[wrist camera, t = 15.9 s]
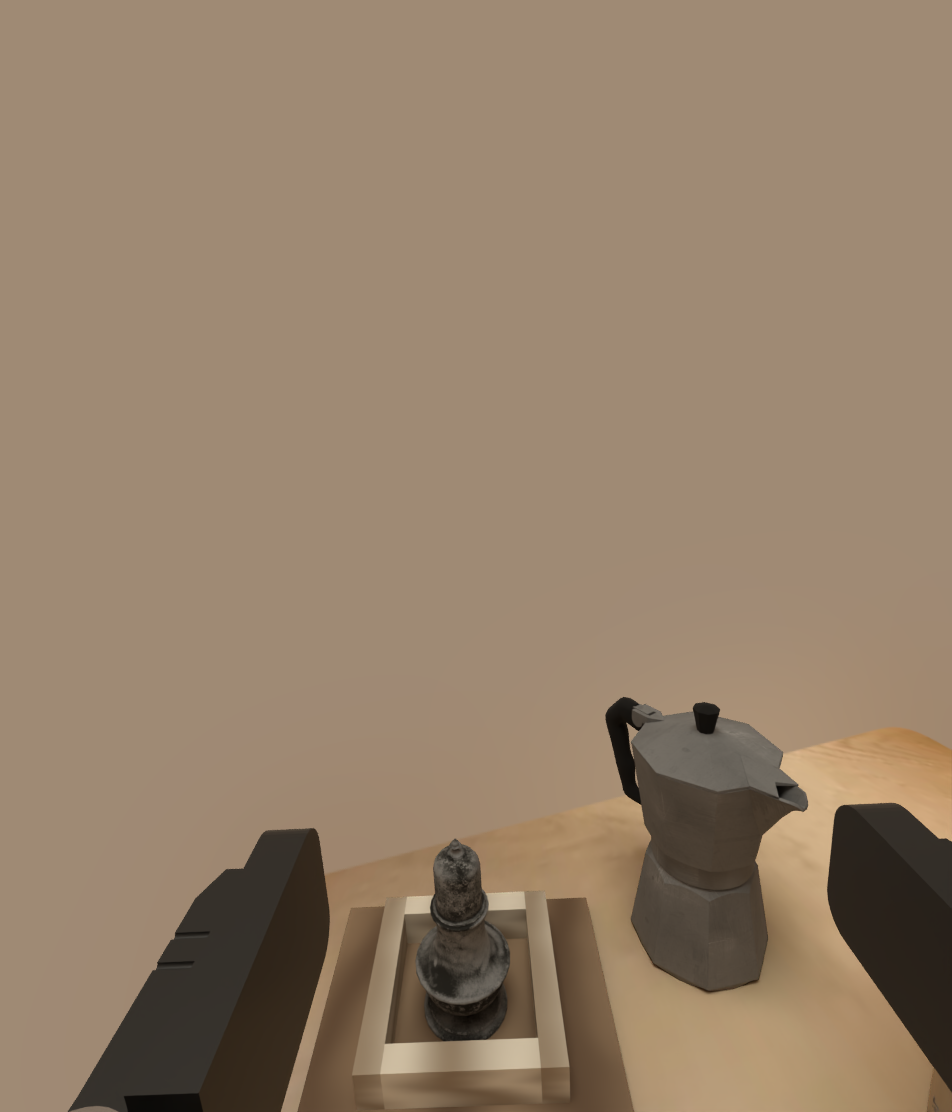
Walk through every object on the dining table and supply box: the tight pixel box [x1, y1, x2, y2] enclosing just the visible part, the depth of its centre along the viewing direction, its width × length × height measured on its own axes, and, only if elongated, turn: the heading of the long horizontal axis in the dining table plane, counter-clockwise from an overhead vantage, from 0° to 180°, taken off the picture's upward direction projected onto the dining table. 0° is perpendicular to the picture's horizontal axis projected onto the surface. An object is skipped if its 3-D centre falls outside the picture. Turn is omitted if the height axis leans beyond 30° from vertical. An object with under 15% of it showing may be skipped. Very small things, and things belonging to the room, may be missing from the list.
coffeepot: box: [606, 697, 808, 991], centre depth 40 cm, size 15×9×18 cm, turn 32°
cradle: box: [298, 891, 634, 1112], centre depth 36 cm, size 18×15×4 cm
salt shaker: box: [415, 839, 510, 1042], centre depth 35 cm, size 6×6×12 cm
